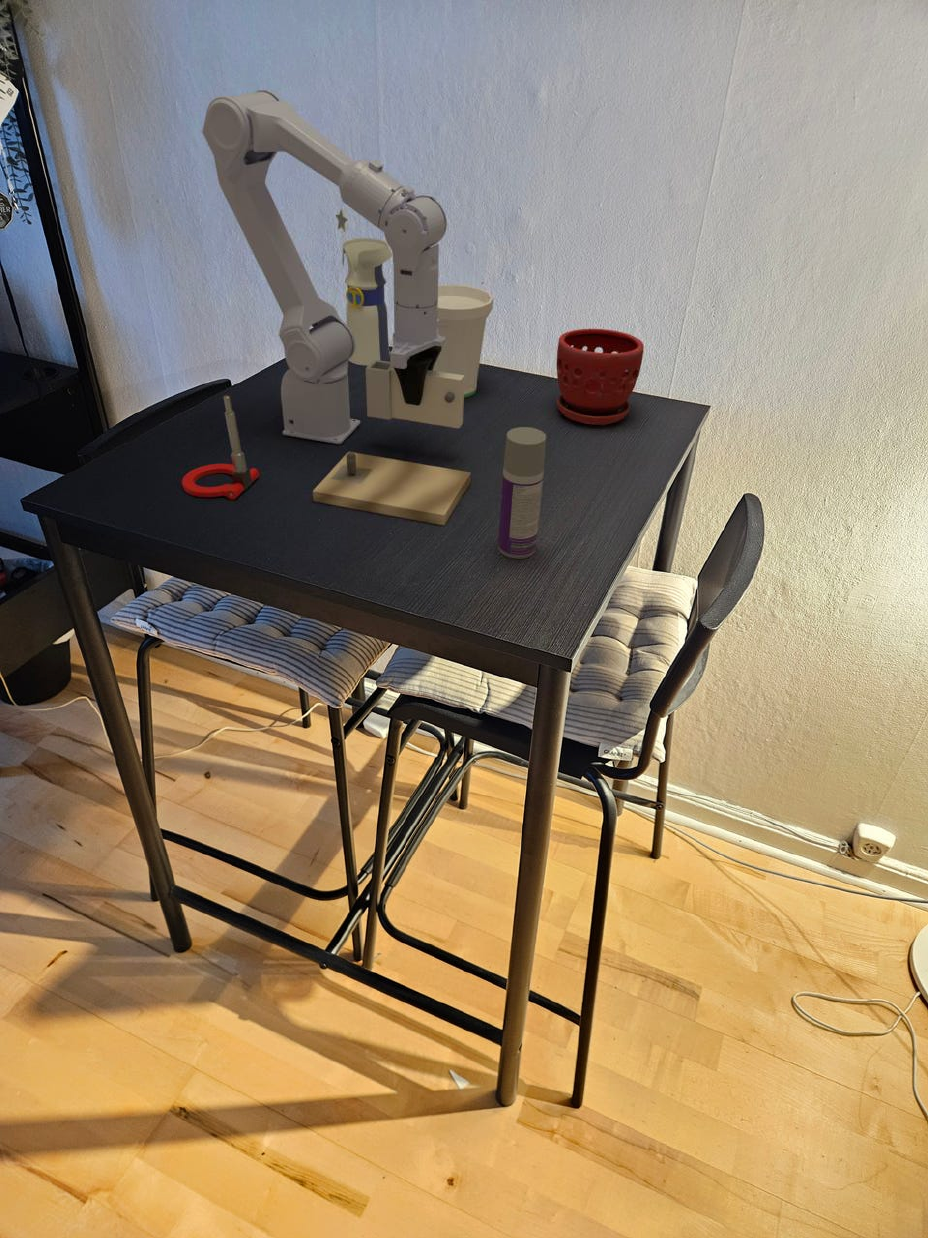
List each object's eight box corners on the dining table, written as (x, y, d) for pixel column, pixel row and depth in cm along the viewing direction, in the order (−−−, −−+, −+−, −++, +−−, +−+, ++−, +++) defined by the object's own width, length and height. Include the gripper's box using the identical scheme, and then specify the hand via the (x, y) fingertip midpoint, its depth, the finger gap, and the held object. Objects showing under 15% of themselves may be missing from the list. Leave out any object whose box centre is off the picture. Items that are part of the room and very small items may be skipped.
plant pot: (649, 419, 134) (662, 345, 126) (587, 437, 128) (597, 360, 120) (595, 390, 142) (605, 319, 135) (534, 406, 136) (541, 333, 129)
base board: (313, 501, 110) (310, 469, 107) (349, 461, 119) (347, 430, 116) (444, 525, 106) (444, 492, 103) (470, 482, 115) (471, 451, 112)
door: (367, 416, 119) (365, 368, 114) (376, 406, 121) (374, 359, 117) (457, 430, 116) (459, 382, 112) (464, 421, 119) (466, 373, 114)
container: (495, 538, 104) (503, 426, 95) (532, 537, 105) (543, 426, 95) (500, 559, 100) (508, 445, 91) (538, 558, 101) (550, 444, 92)
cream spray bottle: (376, 370, 146) (371, 214, 130) (336, 359, 149) (326, 207, 134) (401, 355, 152) (399, 205, 136) (362, 346, 155) (356, 198, 139)
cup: (488, 405, 136) (494, 310, 126) (412, 402, 136) (411, 306, 126) (488, 376, 145) (493, 285, 136) (416, 373, 145) (416, 282, 136)
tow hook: (171, 495, 111) (233, 504, 108) (148, 402, 103) (215, 410, 101) (204, 467, 117) (264, 475, 115) (184, 378, 109) (248, 384, 107)
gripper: (427, 322, 102) (426, 425, 111) (461, 289, 113) (457, 385, 122) (373, 315, 104) (376, 417, 112) (412, 282, 115) (412, 378, 123)
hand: (415, 400), depth 117 cm, fingers closed on door, 2 cm apart
